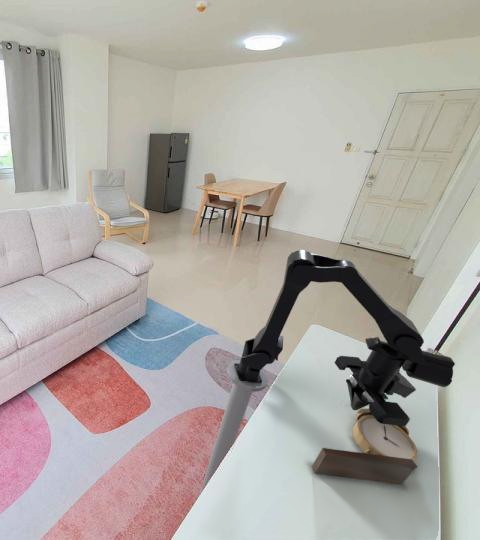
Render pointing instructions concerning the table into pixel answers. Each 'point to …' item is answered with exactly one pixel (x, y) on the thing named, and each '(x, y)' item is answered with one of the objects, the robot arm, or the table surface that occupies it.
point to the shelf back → (363, 466)
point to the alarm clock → (382, 437)
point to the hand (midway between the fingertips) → (354, 409)
